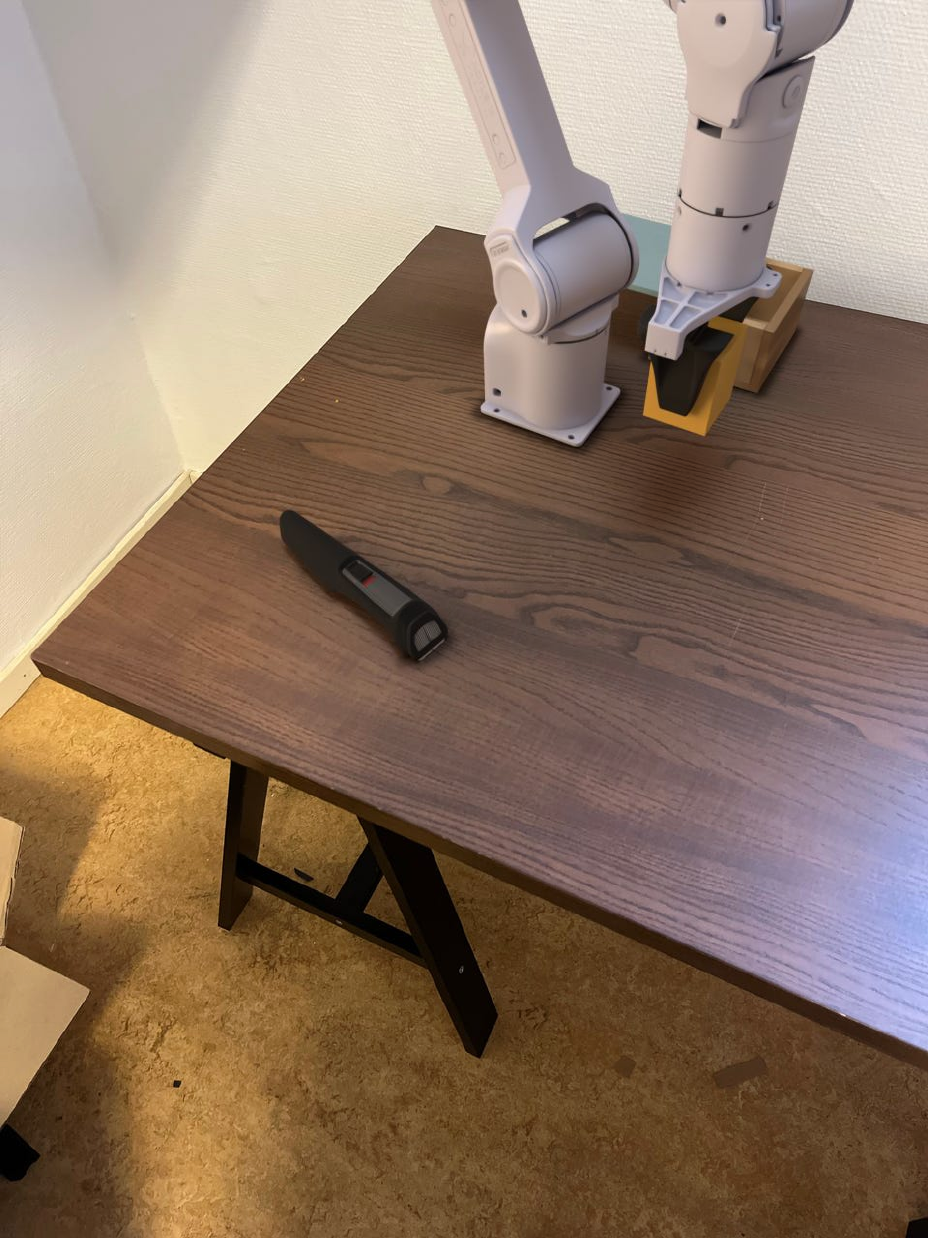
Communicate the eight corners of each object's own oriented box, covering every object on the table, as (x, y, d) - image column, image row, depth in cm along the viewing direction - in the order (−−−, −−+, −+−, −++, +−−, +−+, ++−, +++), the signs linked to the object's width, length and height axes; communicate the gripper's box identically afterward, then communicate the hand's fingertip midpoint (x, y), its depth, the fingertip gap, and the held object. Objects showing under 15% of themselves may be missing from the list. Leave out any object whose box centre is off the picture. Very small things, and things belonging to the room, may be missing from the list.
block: (642, 415, 60) (653, 341, 55) (669, 378, 62) (682, 305, 58) (704, 436, 59) (721, 362, 54) (729, 398, 61) (748, 324, 56)
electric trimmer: (312, 524, 66) (304, 494, 64) (452, 634, 59) (449, 606, 57) (273, 551, 65) (263, 522, 62) (412, 667, 58) (407, 640, 55)
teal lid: (571, 272, 74) (573, 244, 72) (620, 218, 79) (623, 190, 77) (679, 303, 71) (685, 274, 69) (724, 245, 76) (730, 216, 74)
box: (647, 359, 76) (657, 298, 71) (691, 301, 81) (702, 240, 76) (757, 393, 73) (774, 332, 68) (795, 330, 78) (814, 269, 73)
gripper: (750, 273, 43) (703, 471, 54) (839, 151, 51) (782, 348, 61) (622, 239, 46) (602, 435, 57) (725, 128, 53) (689, 321, 64)
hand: (689, 388), depth 59 cm, fingers closed on block, 4 cm apart
